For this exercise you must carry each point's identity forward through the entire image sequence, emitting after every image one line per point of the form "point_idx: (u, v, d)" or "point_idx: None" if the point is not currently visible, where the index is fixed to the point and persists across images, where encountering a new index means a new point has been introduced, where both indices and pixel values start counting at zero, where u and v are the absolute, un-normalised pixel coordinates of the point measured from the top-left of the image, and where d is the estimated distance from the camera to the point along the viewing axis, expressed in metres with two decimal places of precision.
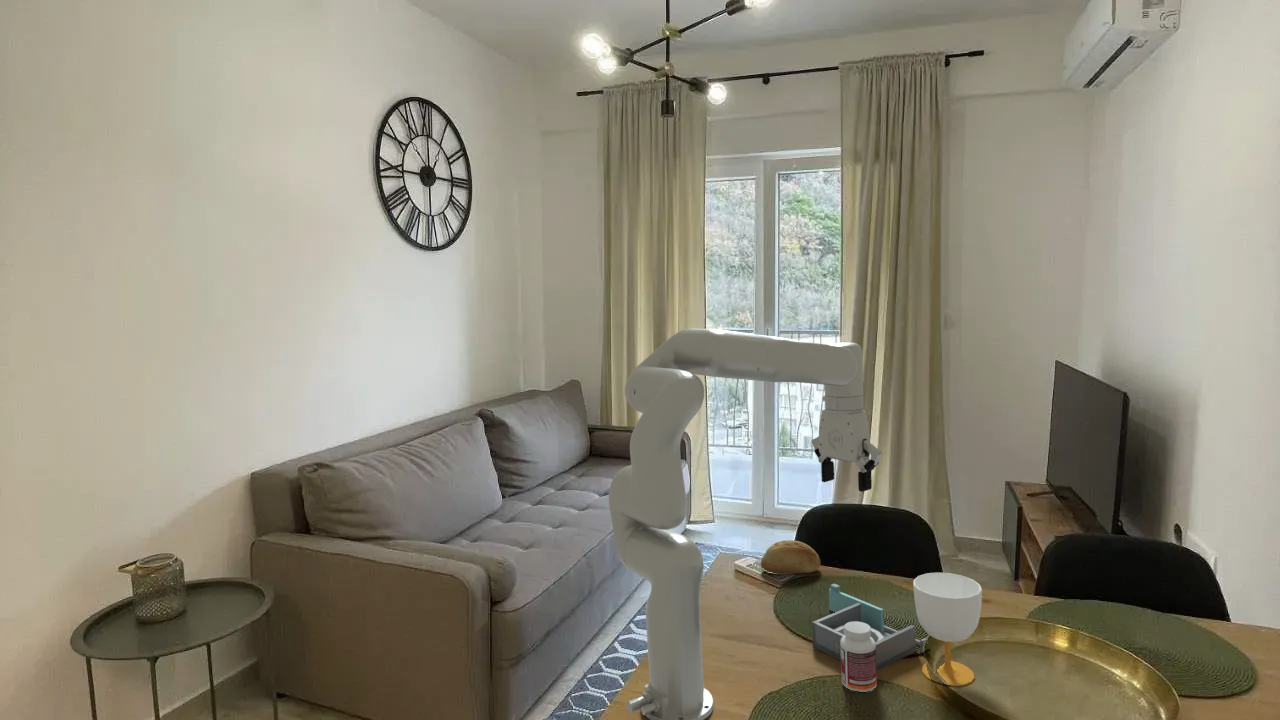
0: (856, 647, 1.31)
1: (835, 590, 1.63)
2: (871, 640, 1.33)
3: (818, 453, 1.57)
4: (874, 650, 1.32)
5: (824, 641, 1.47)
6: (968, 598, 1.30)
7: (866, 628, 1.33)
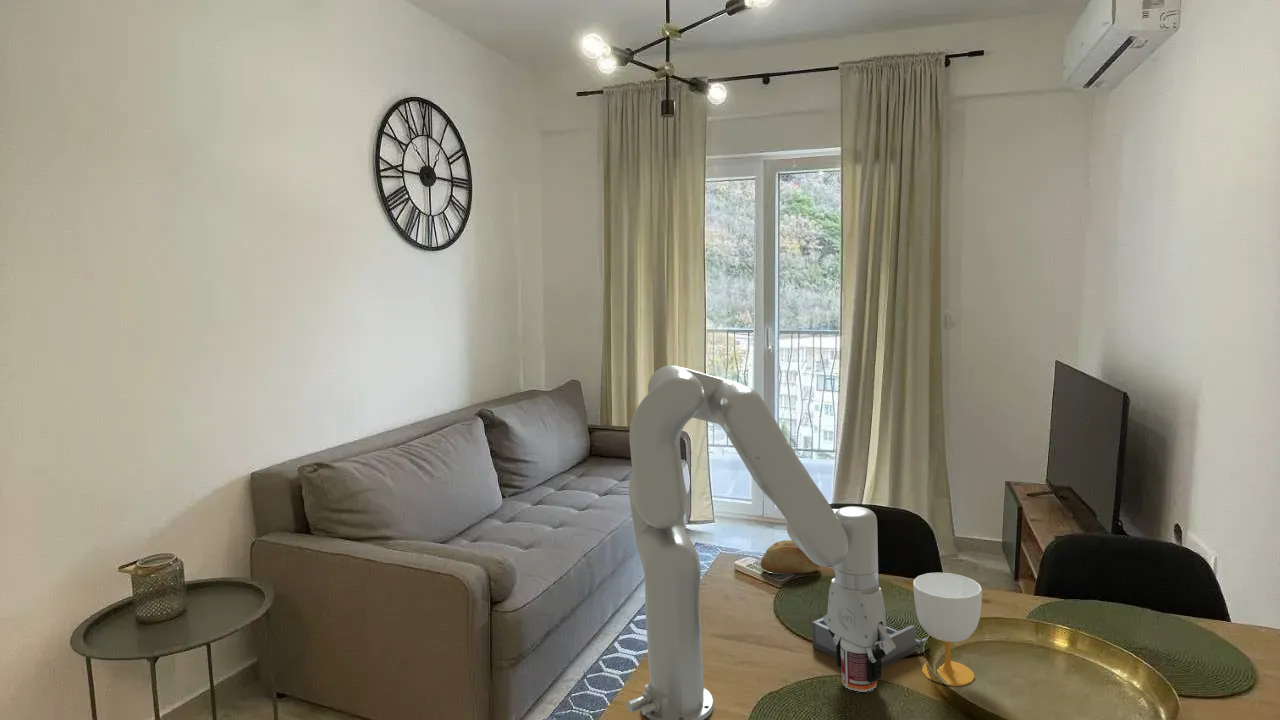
0: (856, 647, 1.31)
1: None
2: None
3: (832, 632, 1.38)
4: (874, 650, 1.32)
5: (824, 641, 1.47)
6: (968, 598, 1.30)
7: None
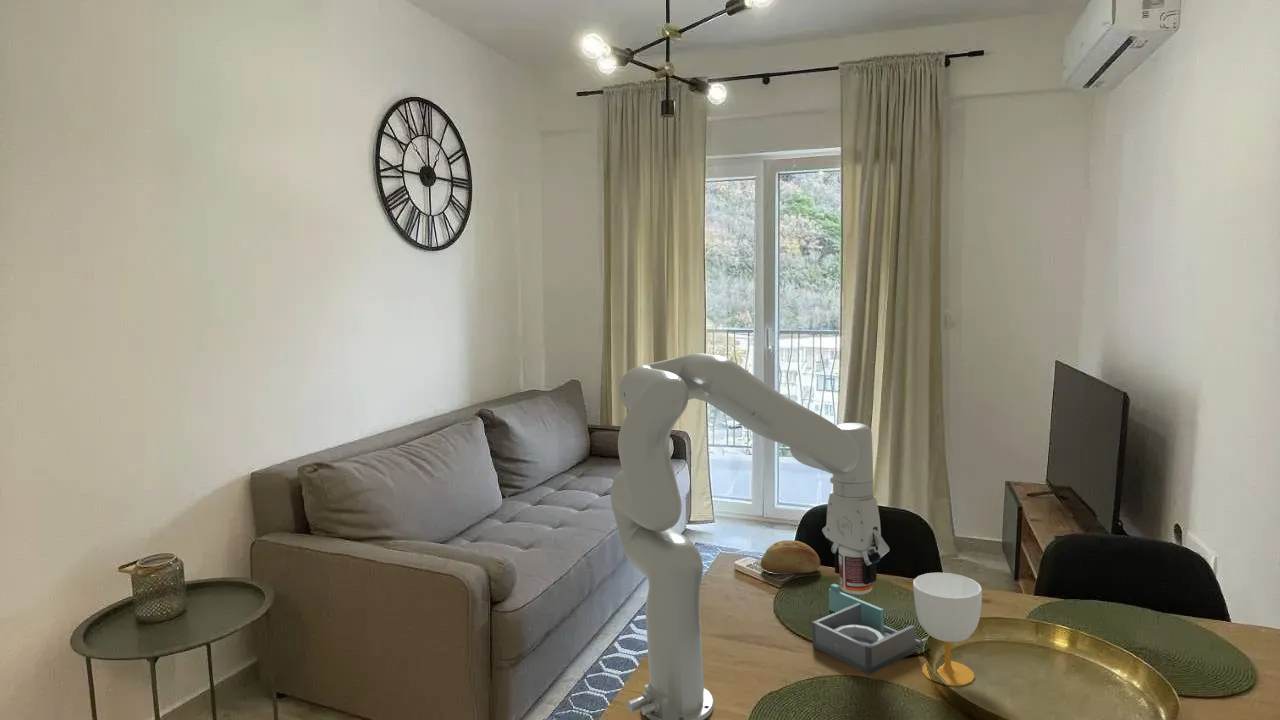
0: (853, 551, 1.42)
1: (835, 590, 1.63)
2: None
3: (831, 542, 1.48)
4: (870, 555, 1.43)
5: (824, 641, 1.47)
6: (968, 598, 1.30)
7: None
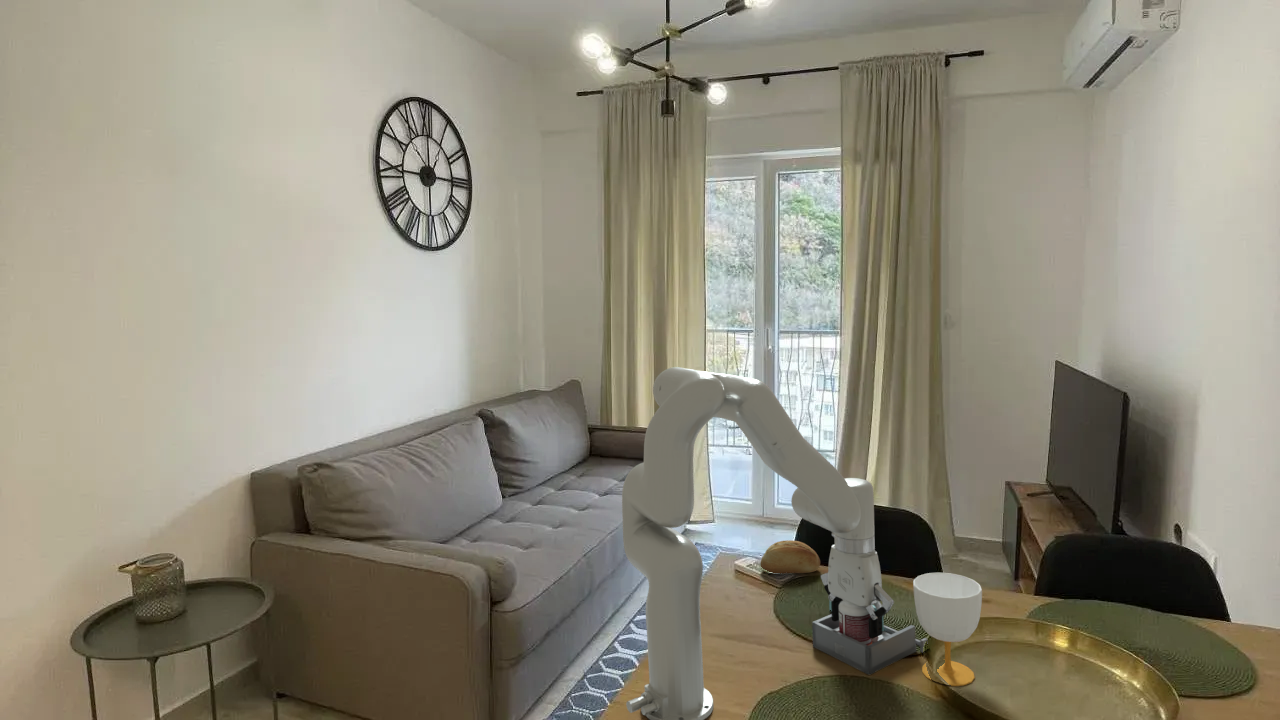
0: (853, 610, 1.43)
1: None
2: None
3: (828, 590, 1.50)
4: None
5: (824, 641, 1.47)
6: (968, 598, 1.30)
7: None
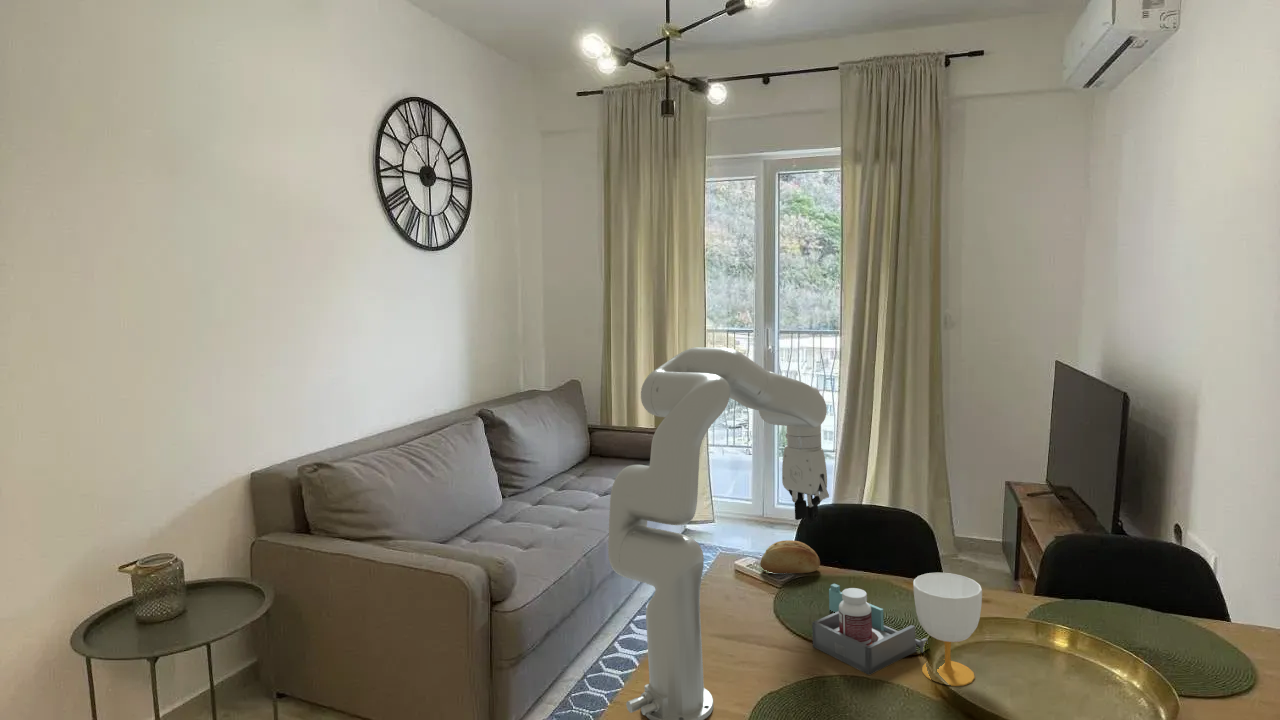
0: (853, 610, 1.43)
1: (835, 590, 1.63)
2: (867, 604, 1.44)
3: (792, 493, 1.70)
4: (870, 613, 1.44)
5: (824, 641, 1.47)
6: (968, 598, 1.30)
7: (862, 593, 1.45)
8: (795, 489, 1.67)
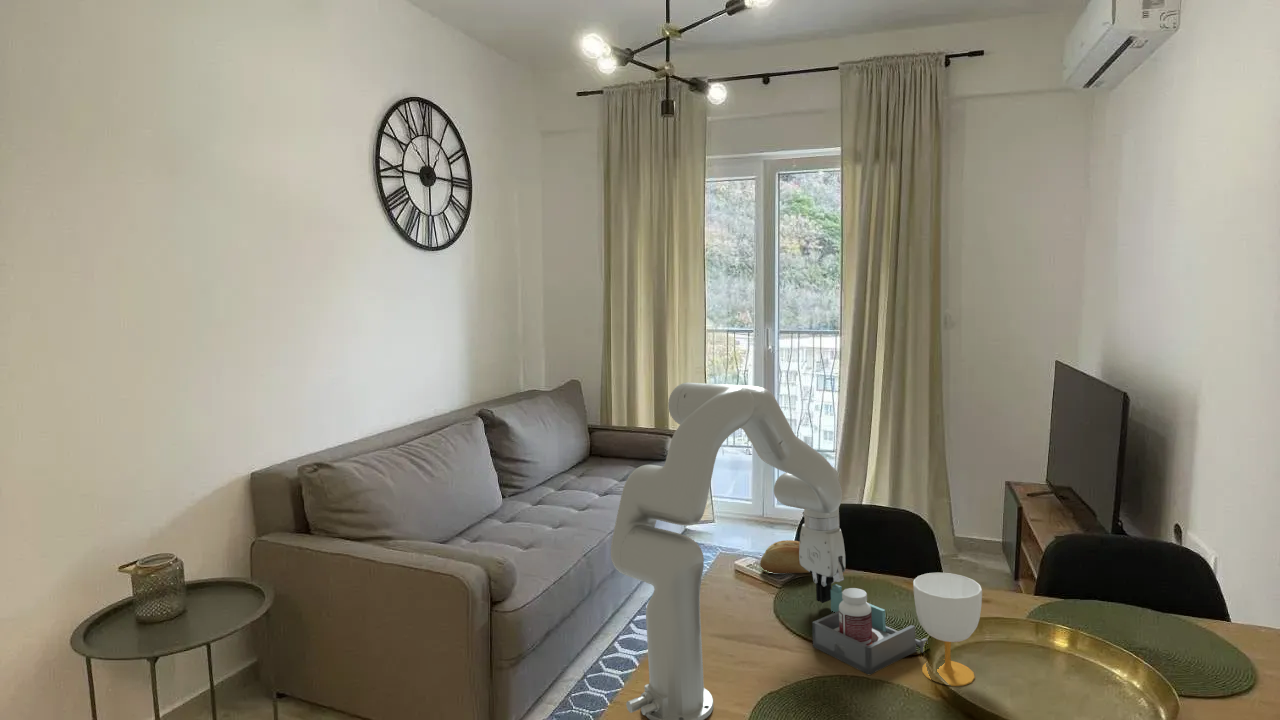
0: (853, 610, 1.43)
1: (837, 590, 1.62)
2: (867, 604, 1.44)
3: None
4: (870, 613, 1.44)
5: (824, 641, 1.47)
6: (968, 598, 1.30)
7: (862, 593, 1.45)
8: (813, 570, 1.65)
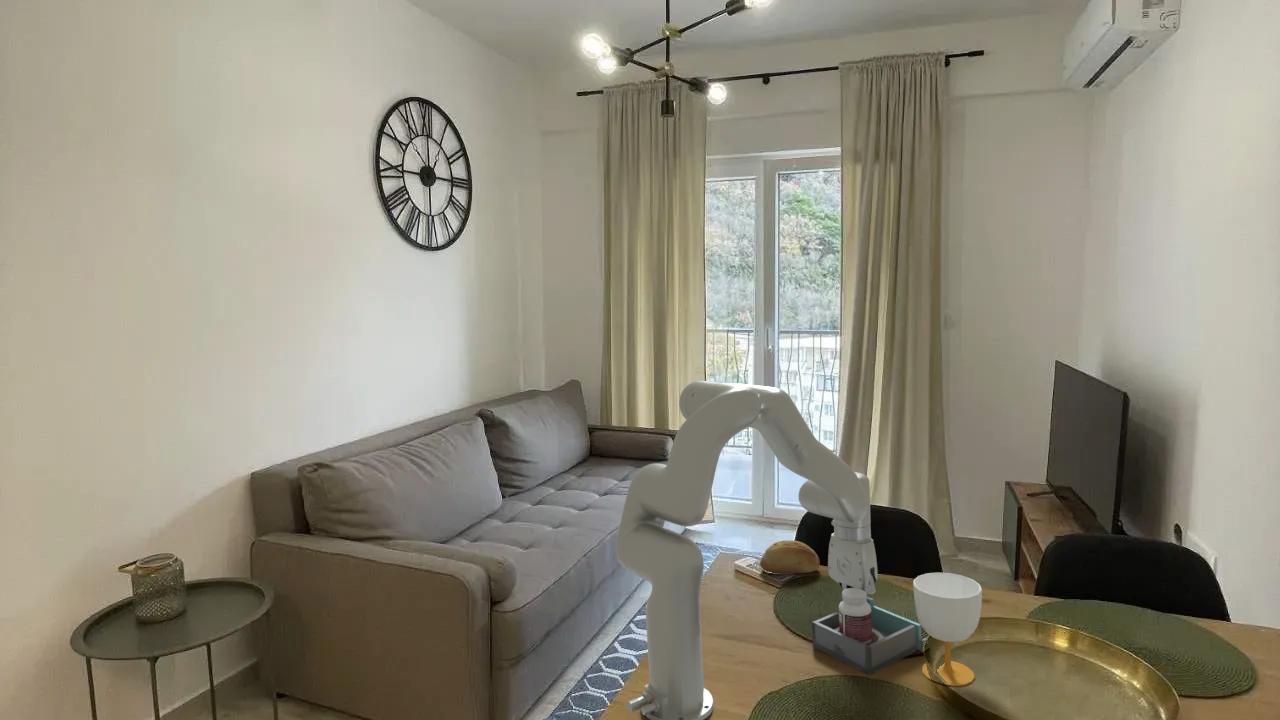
0: (853, 610, 1.43)
1: (869, 603, 1.55)
2: (867, 604, 1.44)
3: None
4: (870, 613, 1.44)
5: (824, 641, 1.47)
6: (968, 598, 1.30)
7: (862, 593, 1.45)
8: (843, 581, 1.57)
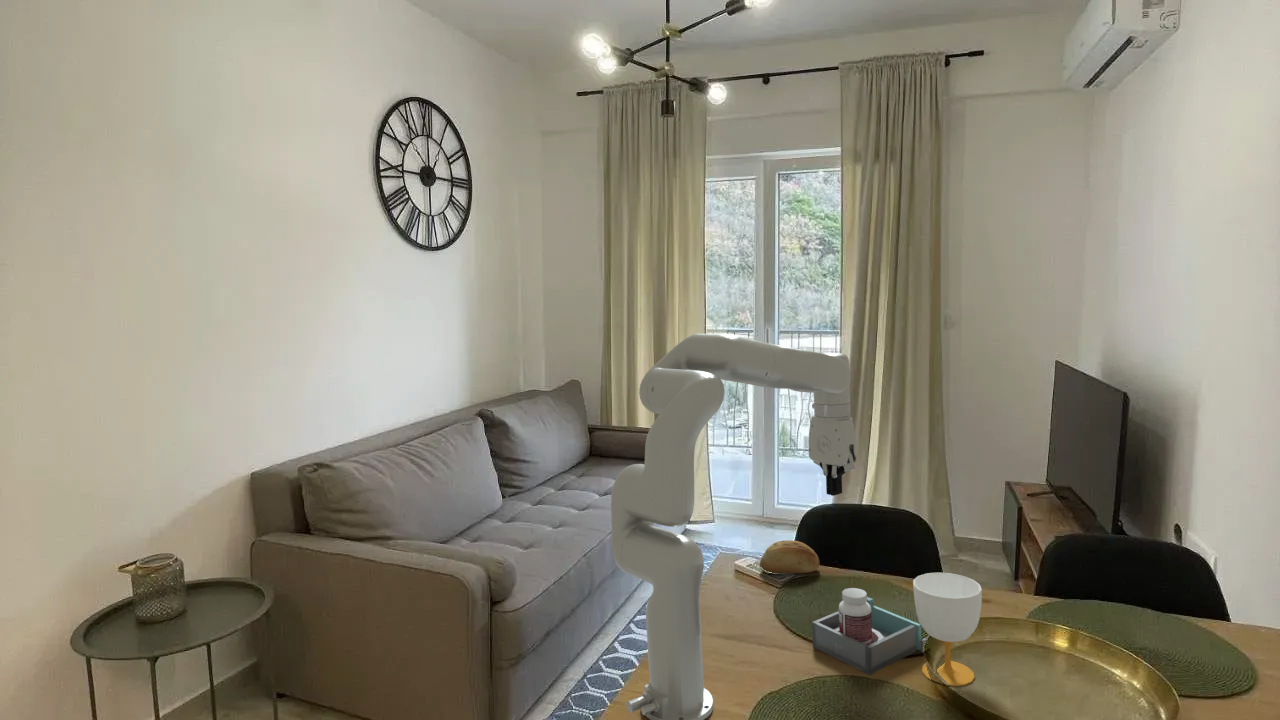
0: (853, 610, 1.43)
1: None
2: (867, 604, 1.44)
3: None
4: (870, 613, 1.44)
5: (824, 641, 1.47)
6: (967, 598, 1.30)
7: (862, 593, 1.45)
8: (823, 461, 1.59)
